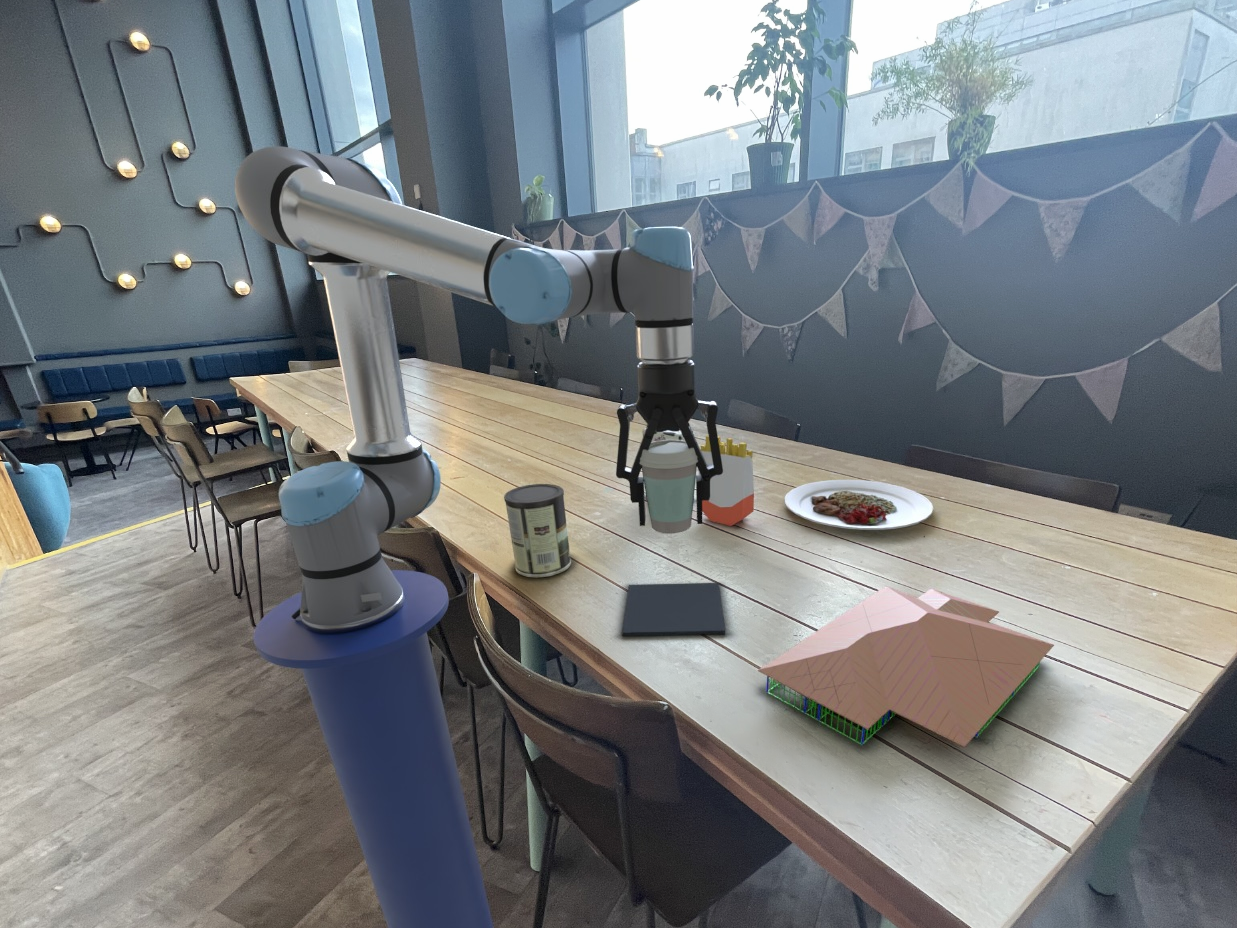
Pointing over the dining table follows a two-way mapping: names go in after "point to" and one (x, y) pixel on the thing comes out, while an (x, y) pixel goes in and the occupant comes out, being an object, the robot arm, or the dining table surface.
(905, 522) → the plated food
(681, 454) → the coffee cup
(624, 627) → the mat
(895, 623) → the house
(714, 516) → the french fries container
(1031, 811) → the dining table surface
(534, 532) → the coffee can
